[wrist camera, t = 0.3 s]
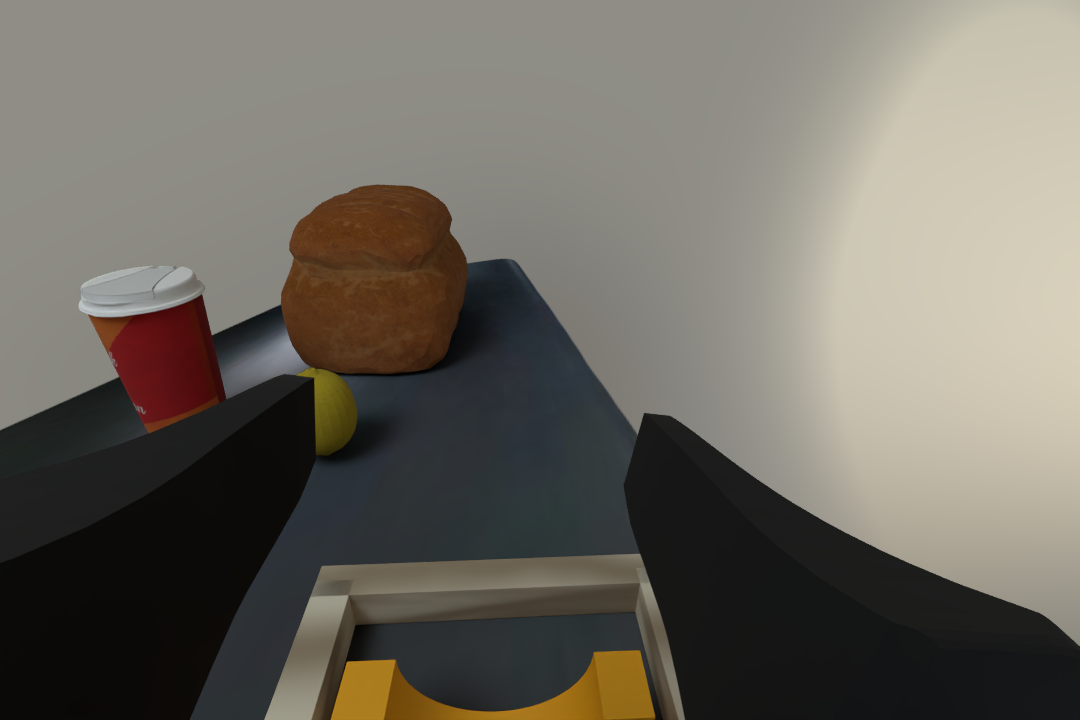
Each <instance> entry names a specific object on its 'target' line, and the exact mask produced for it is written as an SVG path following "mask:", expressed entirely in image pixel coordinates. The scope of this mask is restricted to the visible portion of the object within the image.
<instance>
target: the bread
mask: <svg viewBox="0 0 1080 720" xmlns="http://www.w3.org/2000/svg"><path fill="white" fill-rule="evenodd" d="M451 221H452V218H451V215H450V213H449V211H448V209H447V207H446V206H445V204H444V203H443V202H441V201H440V200H439V199H438V198H436V197H434V196H433V195H431V194H430V193H428V192H427V191H425V190H422V189H418V188H415V187H412V186H395V185H370V186H363V187H359V188H356V189H353V190H351V191H350V192H348V193H345V194H341V195H338V196H335V197H333V198H331V199H329V200H327V201H325V202H323V203H321V204H320V205H319V206H317V207H316V208H315V209H314V210H313V211H312V212H311V213H310V214H309V215H307V216H306V217H304V218H303V219H301V220H300V221H299V222H298V224H297V225H296V227H295V229H294V231H293V234H292V237H291V240H290V249H289V250H290V252H291V253H292V255H293V257H294V259H293V264H292V267H291V270H290V273H289V275H288V278H287V280H286V283H285V285H284V287H283V290H282V294H281V305H282V312H283V318H284V321H285V324H286V328H287V331H288V334H289V338H290V341H291V343H292V345H293V347H294V349H295V350H296V352H297V353H298V354H299V356H300V357H301V359H302V360H303V361H304V362H305V364H307V365H309V366H311V367H313V368H316V369H323V370H328V371H330V372H338V373H350V374H354V373H367V374H395V373H405V372H414V371H420V370H425V369H430V368H431V367H432V366H434V365H435V364H437V363H438V362H439V361H441V360H442V359H443V358H444V357H445V355H446V353H447V351H448V348H449V344H450V340H451V336H452V334H453V332H454V330H455V328H456V326H457V322H458V319H459V312H460V310H461V309H462V305H463V301H464V297H465V289H466V282H467V261H466V257H465V255H464V253H463V251H462V249H461V247H460V245H459V243H458V242H457V241H456V239H455V238H454V237H453V236H452V235H451V233H450V225H451Z"/></svg>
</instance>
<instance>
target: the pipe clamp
mask: <svg viewBox="0 0 1080 720" xmlns="http://www.w3.org/2000/svg"><path fill="white" fill-rule="evenodd" d="M331 720H655V713H654V709H653V705H652V700H651V696H650V692H649V688H648V683H647V679H646V675H645V670H644V666H643V662H642V657H641V653H640V650H637V651H611V652H594V654H593V659H592V661H591V664H590V666H589V668H588V670H587V671H586V673H585V674H584V675H583V677H582V678H581V679H580V680H579V681H578V682H577V683H576V684H575V685H574V686H572V687H571V688H570V689H568V690H567V691H565V692H564V693H562V694H561V695H559V696H557V697H555V698H553V699H551V700H549V701H546V702H543V703H541V704H538V705H534V706H531V707H527V708H522V709H517V710H510V711H498V712H482V711H471V710H464V709H459V708H454V707H451V706H447V705H444V704H441V703H439V702H436V701H434V700H432V699H430V698H428V697H426V696H424V695H422V694H421V693H419V692H418V691H417V690H415V689H414V688H413V687H412V686H411V685H410V684H409V683H408V682H407V681H406V680H405V679H404V677H403V676H402V674H401V673H400V671H399V669H398V667H397V663H396V660H378V661H352V662H347V664H346V667H345V671H344V674H343V678H342V681H341V685H340V688H339V692H338V695H337V699H336V702H335V706H334V710H333V713H332V717H331Z"/></svg>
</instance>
